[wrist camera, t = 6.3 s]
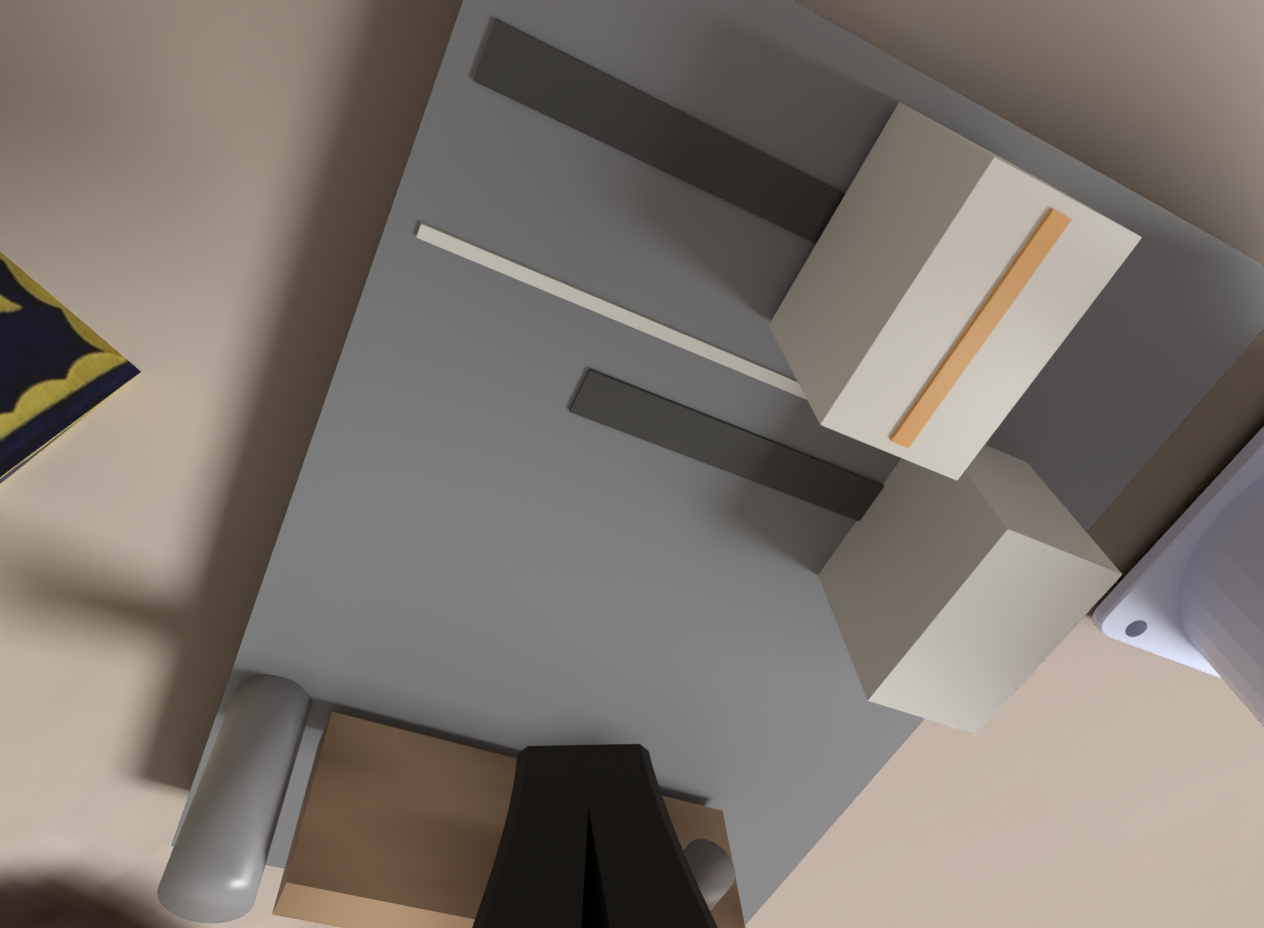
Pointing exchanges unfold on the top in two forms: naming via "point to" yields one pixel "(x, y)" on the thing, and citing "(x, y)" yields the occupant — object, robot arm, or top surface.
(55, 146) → the top surface
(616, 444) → the grey piece
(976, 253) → the fader
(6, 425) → the decorative box
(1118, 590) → the robot arm
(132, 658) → the top surface
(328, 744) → the brown wooden bar
